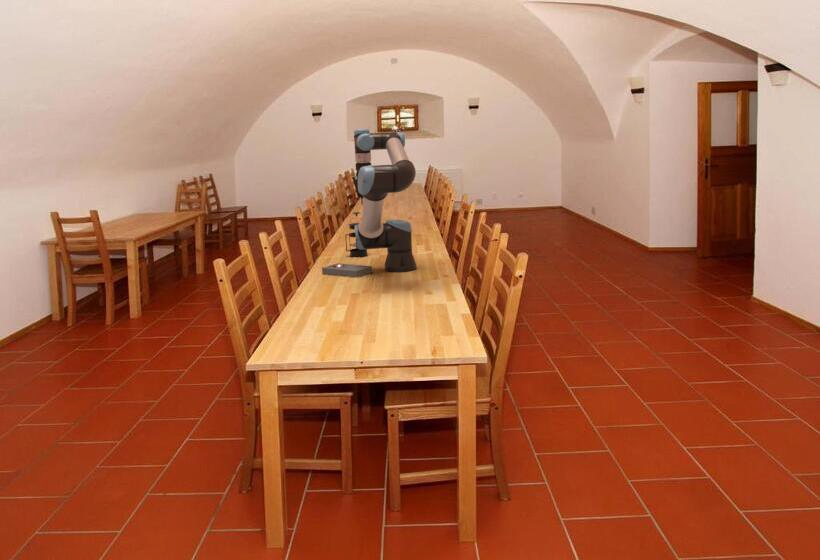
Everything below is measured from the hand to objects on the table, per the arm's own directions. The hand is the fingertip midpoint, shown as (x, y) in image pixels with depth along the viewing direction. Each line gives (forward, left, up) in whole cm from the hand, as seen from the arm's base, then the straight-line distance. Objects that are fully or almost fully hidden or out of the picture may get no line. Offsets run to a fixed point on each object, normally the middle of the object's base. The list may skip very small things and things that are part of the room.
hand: (365, 211), depth 353 cm
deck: (-2, +20, -26) cm, 33 cm away
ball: (+2, +20, -24) cm, 32 cm away
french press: (+20, -18, -27) cm, 38 cm away
